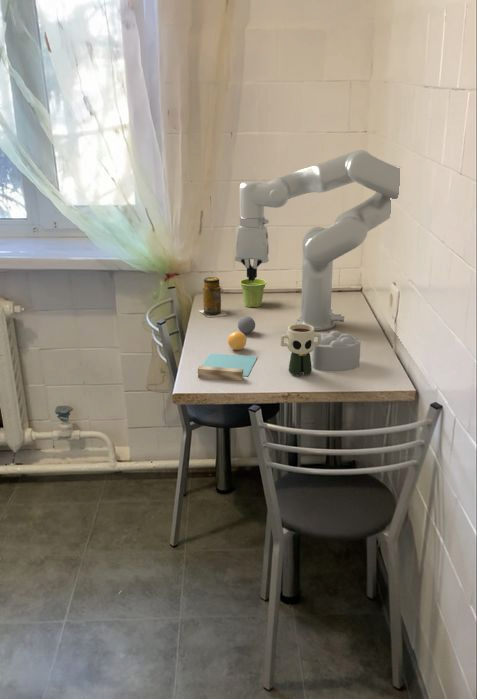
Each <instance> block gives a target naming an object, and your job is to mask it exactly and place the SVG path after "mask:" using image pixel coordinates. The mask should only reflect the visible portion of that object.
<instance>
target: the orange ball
mask: <svg viewBox="0 0 477 699" xmlns="http://www.w3.org/2000/svg"><path fill="white" fill-rule="evenodd" d="M227 344H228V346H229V348H231V349H232V350H235V351H239V350H242V349H243V348H245V346H246V345H247V337H246V334H244V333H242V332H241V331H240V330H239V331H233V332H231V333H230V334H229V335H228V338H227Z"/></svg>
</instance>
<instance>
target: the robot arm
mask: <svg viewBox="0 0 477 699" xmlns="http://www.w3.org/2000/svg"><path fill="white" fill-rule="evenodd" d="M395 166H396V165H392V164H390V163H389V162H386V161H384V160H381V159H379V158H378V157H376V156H374V155H372V154H371V153H370V152H368V151H367V150H364V149H357V150H354V151H351V152H348V153H346V154H342V155H339V156H337V157H334V158H332V159H329V160H326V161H323V162H320V163H317V164H313V165H311V166H310V165H309V166H308V167H305V168H302V169H299V170H295V171H293V172H290V173H287V174H285V175H281V176H279V177H276V178H274V179H272V180H270V181H269V182H268V183H263V182H261V181H257V180H256V181H253V180H251V181H250V180H248V181H247V180H246V181H243V182H241V183H240V185H239V225H237V229H236V230H237V231H236V238H235V246H234V247H235V248H234V249H235V250H234V252H235V254H234V255H235V257H234V261H235V262H238V263H241V264H242V265H243V266H244V267H245V268H246V277H247V279H248V280H249V281H250V280H252V281H254V280H255V278H256V279H257V277H258V267H259V266H260V265H261V264H266V263H268V262H269V259H270V258H269V254H270V253H269V252H270V251H269V250H270V248H269V235H268V234H269V233H268V228H267V226H266V224H269V219H268V218H265V207H266V208H267V207H268V208H274V209H276V208H278V209H279V208H282V207H284V206H285V205H286V204H287V203H288V201H289V200H291V199H294V198H296V197H299V196H302V195H305V194H311V193H318V194H320V193H326V192H330V191H333V190H335V189H337V188H340V187H343V186H347V185H350V184H352V183H357V184H359V185H361V186H363V187H366V188H367V189H369V190H372V191H374V192H375V193H374V194H373V195H371V197H368V199H365V200H364V201H363V202H361V203H359V204H357V205H355V206H354V207H352V208H350V209H348V210H346V211H344V212H342V213H340V214H339V215H338V216H337V217H336V219H335V221H334V223H333V224H331V225H329V226H328V227H322V226H315V227H313V228H310V229H308V230H307V231H306V232H305V234H304V236H303V239H302V265H301V266H302V268H301V269H302V270H301V272H302V273H301V303H300V304H301V306H300V308H301V310H300V312H301V313H300V317H297V319H296V321H295V322H296V323H295V324H308V325H311V326H313V327H314V332H315V331H317V332H318V331H327V330H331V329H332V328H334V327H335V326H336V322H340V323H344V322H345V315H342V314H341V313H340V314H338V313H333V309H332V292H333V291H332V289H333V288H332V287H333V273H334V272H333V270H334V268H333V267H334V263H333V262H334V260H336V259H338V258H340V257H342V256H344V255H346V254H347V253H349V252H352V251H353V250H355V249H356V248H358V247H359V246H360V245H362V243H363V242H364V241H365V240H366V238H367V236H368V232H370V231H371V230H373V229H375V228H377V227H378V226H380V225H382V224H383V223H385V222H386V221H389V219H390V218H391V217H390V214H391V200H390V198H392V199H397V198H398V195H399V186H400V168H397V167H395ZM251 260H253V263H251Z"/></svg>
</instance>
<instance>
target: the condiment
mask: <svg viewBox="0 0 477 699" xmlns="http://www.w3.org/2000/svg"><path fill="white" fill-rule="evenodd" d="M221 288H222V287H221V286H220V279H219V277H215V276H214V277H213V276H211V277H209V276H208V277H205V278H204V279H203V287H202V290H203V291H202V293H203V294H202V298H203V299H202V303H203V304H202V305H203V309H201V310H200V309H199V310H198V312H200V313H201V314H203V315H204V316H205V317H207V318H214V317H221V316H226V315H228V313H226V312H225V311H222V291H221V290H222V289H221Z"/></svg>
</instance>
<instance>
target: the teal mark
mask: <svg viewBox="0 0 477 699" xmlns="http://www.w3.org/2000/svg"><path fill="white" fill-rule="evenodd" d="M257 359H258V356H256V355H243V354H242V355H241V354H240V355H239V354H229V353H228V354H227V353H224V354H223V353H213V352H212V353H211V352H210V353H209V354H208V356H207V357H206V359H205V360H204V362H203V363H202V365H201V366H207V367H221V368H234V369H243V377H249V375H250V372H251V370H252V369H253V367H254V365H255V363H256V360H257ZM196 372H197V374H198V371H196Z"/></svg>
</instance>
